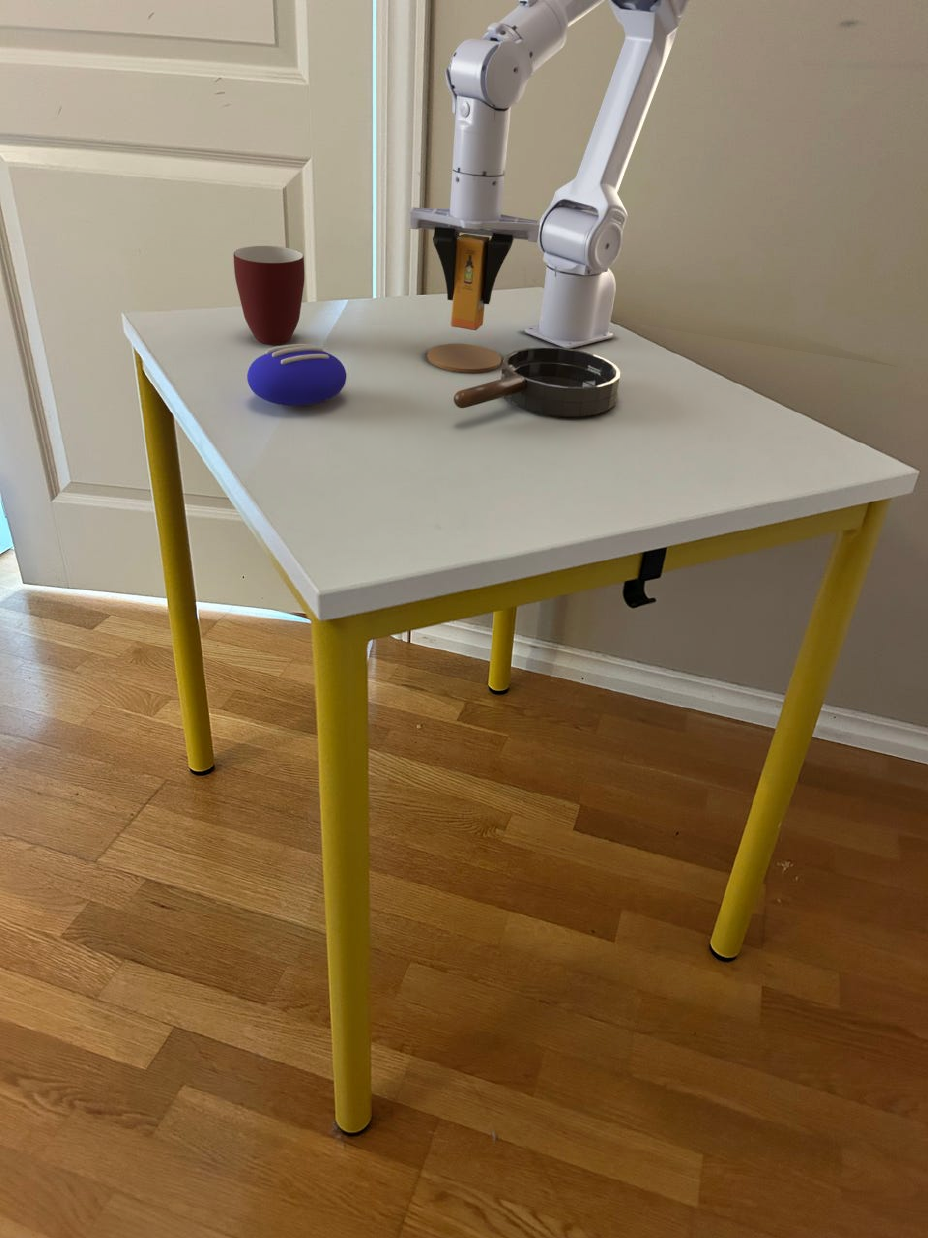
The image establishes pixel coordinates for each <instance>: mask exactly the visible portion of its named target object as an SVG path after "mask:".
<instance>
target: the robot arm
mask: <svg viewBox="0 0 928 1238" xmlns="http://www.w3.org/2000/svg"><path fill="white" fill-rule="evenodd" d="M604 1H606V0H518V5H517V7H516V8H514V9H513V10H512V11H511V12H509V13H508V14H507V15H506V16H504V18H502V19H501V20H500V21H498V22H492V23H491V24H490V25H489V26H487V32H485V33H484V34H483V36H482V37H481V38H473V37H471V38H468V39H467V38H466V39H465V40H463V41H462V42H461V43H460V44H459V46H457V48H456V49H455V51H454V52H453V54H452V55H451V58H450V62H449V66H448V67H447V68H445V70H444V71H445V82H446V86H447V90H448V91H449V94H450V96H451V99H452V107H451V108H452V110H451V113H452V114H453V118H454V119H455V120H454V134H453V135H454V136H453V137H454V138H453V152H452V170H451V173H452V174H451V185H450V186H451V188H450V201H449V202H450V203H449V208H431V207H416V206H412V207H411V208H410V209H409V215H408V217H409V218H408V222H409V223H408V229H409V230H419V229H421V230H423V229H424V230H433V237H432V243H433V247H434V248H435V250H436V253H437V255H438V258H439V261H440V264H441V267H442V272H443V275H444V280H445V286H446V294H447V295H446V296H447V297H446V298H447V300H448V301H453V294H454V276H455V262H456V246H457V238H458V237H459V236H460V235H461V234H470V235H477V236H485V237H490V241H489V245H488V263H487V277H486V283H485V289H484V295H483V304H485V305H490V303H491V299H492V293H493V289H494V285H495V282H496V279H497V277H498V274H499V272H500V269H501V268H502V265H503V263H504V261H505V259H506V258H507V256H508V254H509V252H510V250H511V248H512V245H513V243H514V241H515V240H524V241H527V242H529V243H537V246H538V249H539V250H540V252H541V253H542V254H543V256H542V257H543V258H542V262H543V263H545V264H546V270H545V278H544V283H543V284H544V285H543V293H542V302H541V309H540V318H539V325H534V326H530V327H525V329H524V332H525V334H528V335H531V336H533V337H536V338H537V339H541V340H543V341H546V342H548V343H551V344H554V345H556V346H557V347H560V348H568V349H573V348H577V347H582V346H586V345H589V344H592V343H596V342H597V343H598V342H600V341H604V340H608V339H611V338H614V333H612V332H610V326H611V319H612V314H613V308H614V302H615V296H616V289H617V287H616V286H617V285H616V279H615V276H614V273H613V271H612V270H611V269H610V267H612V266H613V264H614V263H615V261H616V260H617V258H618V256H619V254H620V252H621V250H622V249H621V248H622V246H623V245H622V244H623V235H624V234H623V233H624V228H625V226H626V222H627V220H628V217H629V214H628V212H627V210H626V208H625V206H624V204H623V202H622V201H621V198H620V196H619V195H618V192H619V189H620V186H621V183H622V181H623V177H624V176H625V172H626V170H627V168H628V165H629V162H630V159H631V156H632V154H633V151H634V148H635V146H636V143H637V140H638V138H639V135H640V134H641V133H640V132H641V130H642V128H643V125H644V122H645V119H646V117H647V114H648V111H649V108H650V105H651V103H652V100H653V98H654V95H655V93H656V91H657V90H656V89H657V87H658V84H659V81H660V79H661V76H662V74H663V71H664V68H665V66H666V63H667V60H668V58H669V55H670V52H671V50H672V47H673V44H674V41H675V38H676V35H677V30H678V28H679V27H680V25H681V23H682V20H683V17H684V15H685V12H686V9H687V7H688V3H689V1H690V0H607V1H608V4H609V7H610V8H611V11H612V13H613V15H614V17H615V20H616V21H617V23H618V24H620V25H621V26H622V28H623V31H624V36H625V37H624V42H623V45H622V47H621V49H620V53H619V55H618V59H617V61H616V64H615V67H614V70H613V72H612V75H611V77H610V81H609V84H608V86H607V89H606V92H605V95H604V98H603V101H602V104H601V107H600V109H599V112H598V114H597V117H596V120H595V123H594V125H593V129H592V131H591V134H590V137H589V139H588V142H587V145H586V148H585V151H584V154H583V157H582V159H581V162H580V165H579V167H578V170H577V174H576V175H575V177H574V178H573V179H572V180H570V181H568V182H567V183H565V184H564V185H562V186H561V187H559V188H558V189H556V190H555V192H554V194H553V198H552V200H551V203H550V205H549V206H548V207H547V208H546V210H545V211H544V212H543V214H542V216H541V218H540V220H539V219H538V220H537V219H529V218H523V217H519V216H513V215H507V214H503V213H502V209H503V197H504V188H505V187H504V186H505V177H506V175H505V174H506V166H507V165H506V163H507V154H508V143H509V132H510V123H511V122H510V121H511V112H512V106H514V105H517V104H518V103H519V101H520V100H521V98H522V96H523V95H524V92H525V89H526V86H527V83H528V81H529V80H530V79H531V78H532V75H533V73H535V72H536V71H537V70H538V69H539V68H541V67H542V66H543V65H544V64H545V63H546V62H548V61H549V60H550V59H551V58H552V57H553V56H554V55H556V54H557V53H558V52H559V51H560V50H561V49H563V47H564V46H565V45H566V42H567V38H568V30H569V29H568V28H569V27H571V26H572V25H573V24H575V23H576V22H578V21H579V20H580V19H582V18H583V17H584V16H586V15H587V14H588V13H590V12H591V11H592V10H594V9H596V7H598V6H600V5H601V4H602V3H603V2H604ZM587 211H589V212H587ZM594 213H596V214H594Z"/></svg>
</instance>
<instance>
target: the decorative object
mask: <svg viewBox="0 0 928 1238" xmlns="http://www.w3.org/2000/svg"><path fill="white" fill-rule="evenodd" d="M246 379H247V384H248V387H249V388H250V390H251V391H252V393H254V394H255V395H256V396H257V397H259V398H260V399H261V400H264V401H266V402H268V403H271V404H275V405H281V406H289V407H298V406H299V407H301V406H309V405H310V406H311V405H314V404H315V405H316V404H319V403H323V402H326V401H328V400H330V399H332V398H334V397H336V396H337V395H339V394H340V392H341V391H342V390H343V389H344V387H345V385H346V382H347V371H346V368H345V366H344V364H343V363H342V361H340V360H339V358H338V357H336V356H335V355H333V354H331V353H329V352H326V351H324V350H323V348H322V347H320V346H314V345H312V344H308V343H294V344H293V343H292V344H285V345H284V344H283V345H276V346H273V347H271V348H268V349H267V350H265V353H264V354H262V355H259V357H257V358H256V359H254V361H253V362H252V363H251V364H250V366H249V367H248V370H247V375H246Z"/></svg>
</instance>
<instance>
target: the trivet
mask: <svg viewBox="0 0 928 1238" xmlns="http://www.w3.org/2000/svg"><path fill="white" fill-rule="evenodd" d="M427 360H428V362H429V363H431V364H432V365H433V366H435V367H437V368H439V369H443V370H445V371H449V372H455V373H462V374H463V373H464V374H466V373H467V374H481V373H487V372H491V371H494V370H496V369H498V368H499V367H500V366H501V365H502V356H501V355H500V354H499V353H498V352H496V351H495V350H493V349H490V348H488V347H485V346H481V345H477V344H476V345H475V344H469V343H446V344H445V343H444V344H439V345H436V346H433V347H432V348H430V349H429V350H428V351H427Z"/></svg>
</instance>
